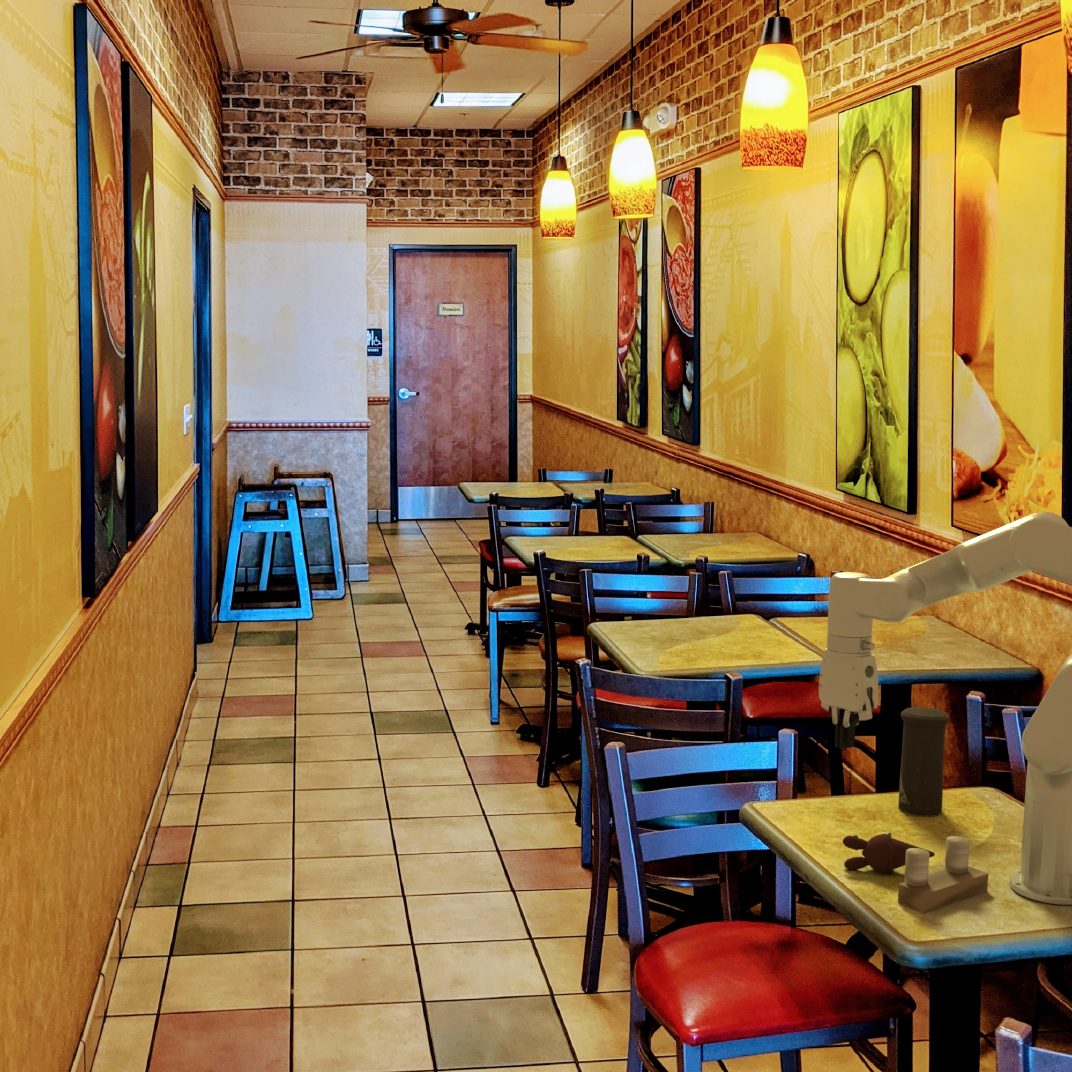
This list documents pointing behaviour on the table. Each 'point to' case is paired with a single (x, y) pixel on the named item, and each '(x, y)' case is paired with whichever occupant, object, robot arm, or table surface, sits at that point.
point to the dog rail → (940, 878)
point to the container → (922, 761)
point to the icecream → (878, 853)
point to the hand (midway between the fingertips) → (844, 746)
